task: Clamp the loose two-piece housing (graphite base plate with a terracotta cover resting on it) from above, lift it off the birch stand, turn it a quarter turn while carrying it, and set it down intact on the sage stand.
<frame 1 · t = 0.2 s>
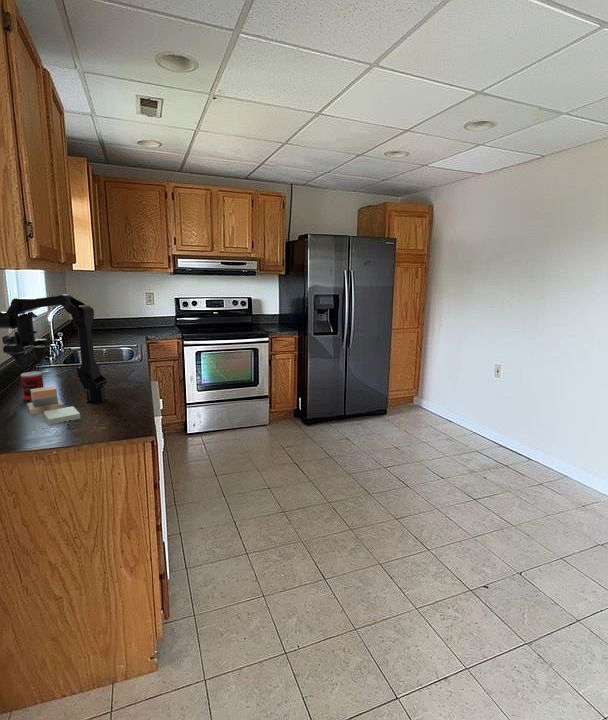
hand: (30, 366, 174), 14 cm above the counter, tool pointing down, fingers open, 9 cm apart
housing cover: (44, 396, 164), point 5 cm above the counter, touching housing base
housing base: (45, 403, 164), point 2 cm above the counter, touching housing cover, stand a
stand b: (62, 417, 155), on the counter
stand a: (45, 408, 165), on the counter
canned food: (34, 399, 178), on the counter
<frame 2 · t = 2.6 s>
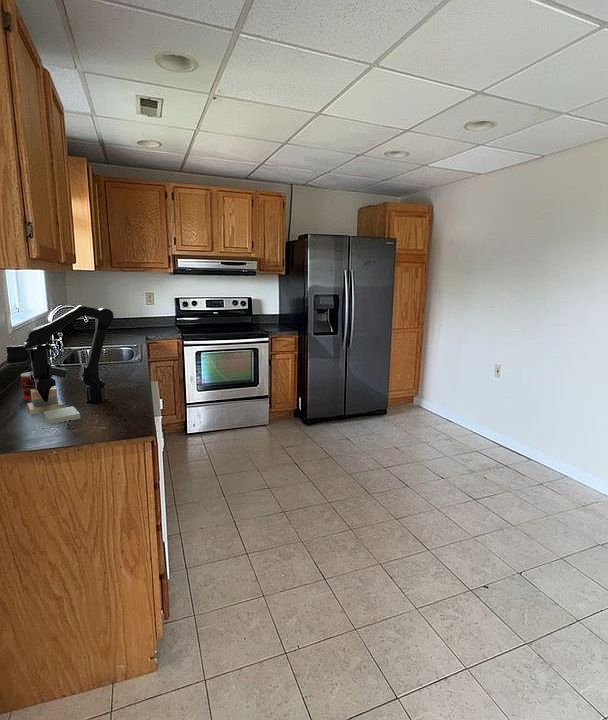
hand: (44, 400, 164), 4 cm above the counter, tool pointing down, fingers closed on housing base, housing cover, 5 cm apart
housing cover: (44, 396, 164), point 5 cm above the counter, touching gripper, housing base
housing base: (45, 403, 164), point 2 cm above the counter, touching gripper, housing cover, stand a
everything else where it was.
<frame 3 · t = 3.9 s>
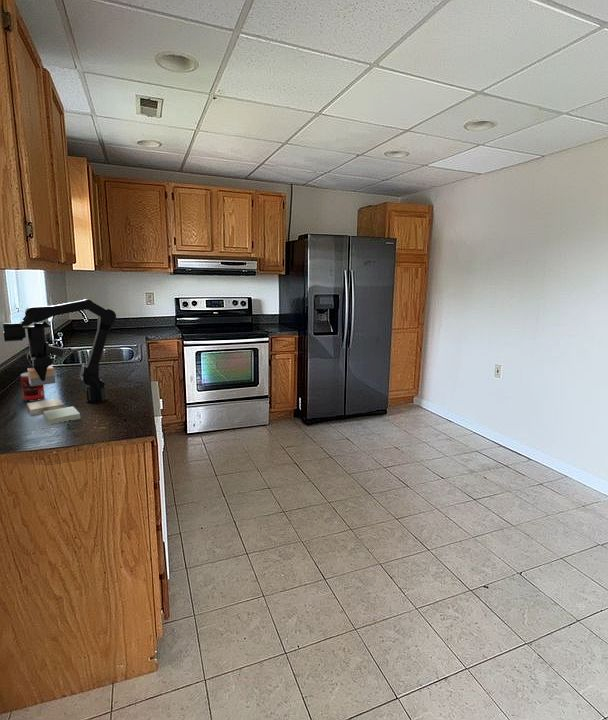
hand: (42, 379, 162), 12 cm above the counter, tool pointing down, fingers closed on housing base, housing cover, 5 cm apart
housing cover: (41, 375, 162), point 13 cm above the counter, touching gripper, housing base
housing base: (42, 383, 162), point 10 cm above the counter, touching gripper, housing cover
everything else where it was.
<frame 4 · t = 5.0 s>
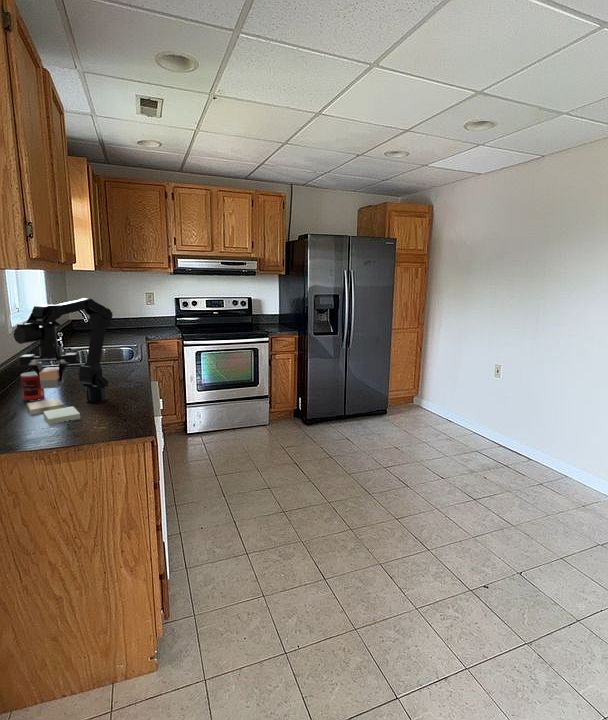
hand: (52, 381, 155), 13 cm above the counter, tool pointing down, fingers closed on housing base, housing cover, 5 cm apart
housing cover: (51, 377, 155), point 15 cm above the counter, touching gripper, housing base
housing base: (52, 385, 155), point 12 cm above the counter, touching gripper, housing cover
everything else where it was.
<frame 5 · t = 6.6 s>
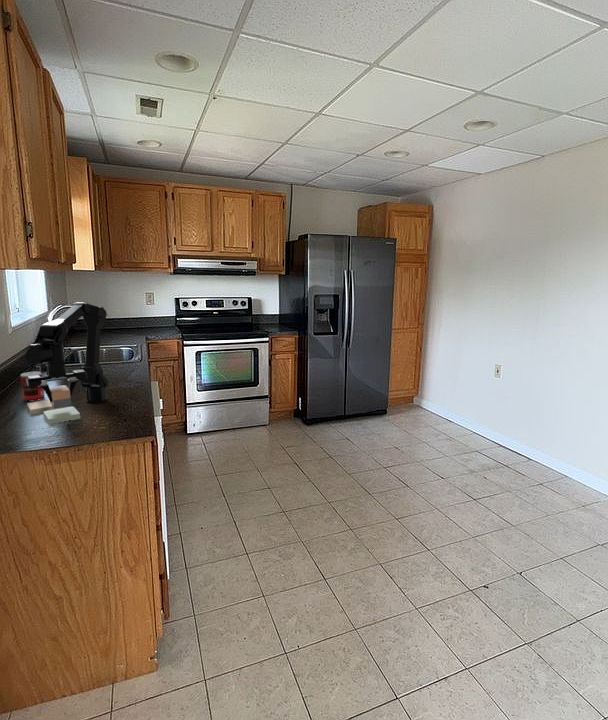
hand: (60, 400, 154), 7 cm above the counter, tool pointing down, fingers closed on housing base, housing cover, 5 cm apart
housing cover: (59, 396, 153), point 8 cm above the counter, touching gripper, housing base
housing base: (60, 404, 154), point 5 cm above the counter, touching gripper, housing cover
everything else where it was.
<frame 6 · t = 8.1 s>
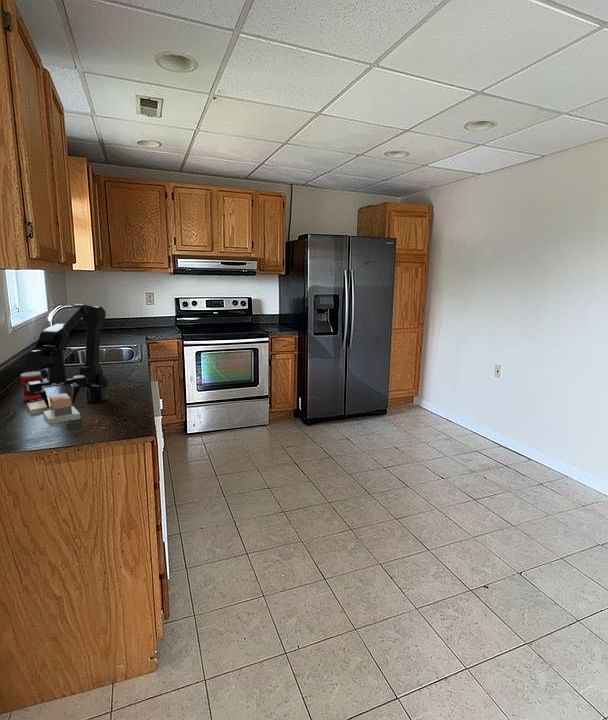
hand: (60, 406, 154), 4 cm above the counter, tool pointing down, fingers open, 8 cm apart
housing cover: (60, 404, 154), point 5 cm above the counter, touching housing base
housing base: (61, 412, 154), point 2 cm above the counter, touching housing cover, stand b
everything else where it was.
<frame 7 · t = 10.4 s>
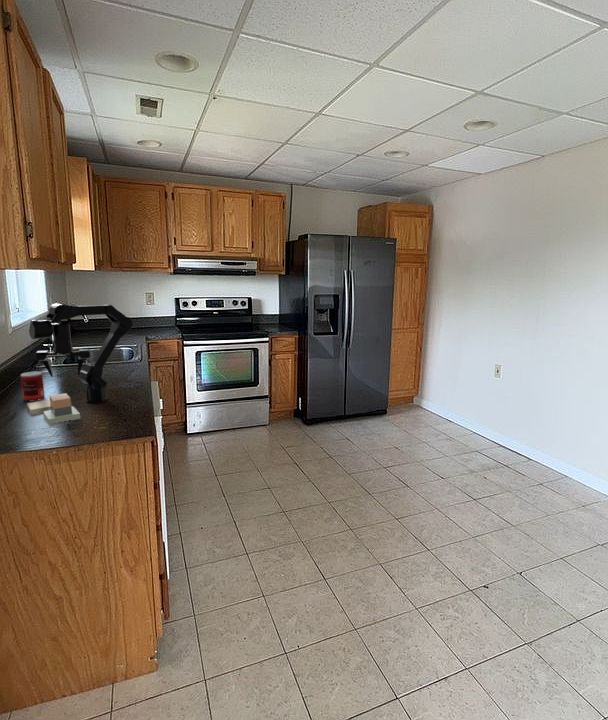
hand: (65, 375, 164), 13 cm above the counter, tool pointing down, fingers open, 9 cm apart
nothing on the counter moved.
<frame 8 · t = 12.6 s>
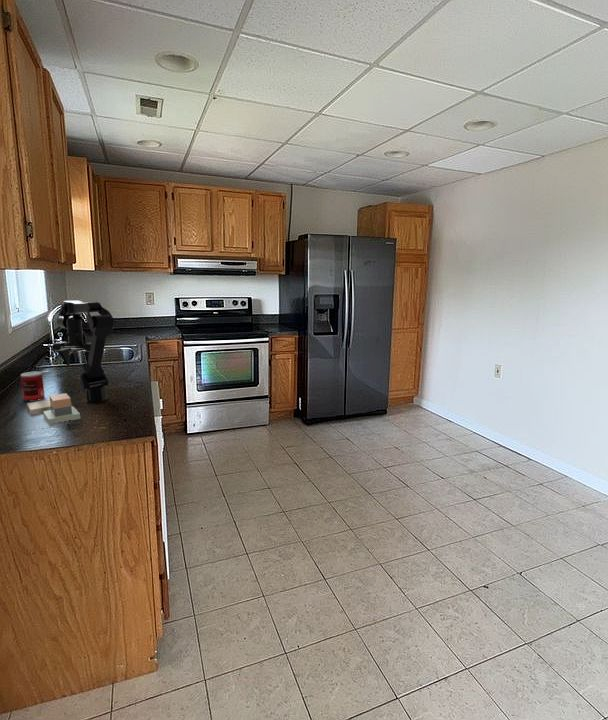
hand: (78, 365, 181), 13 cm above the counter, tool pointing down, fingers open, 9 cm apart
nothing on the counter moved.
at the end: housing base 0.0 cm off-centre on the stand b, point 2.0 cm above the stand b's base; housing cover 0.1 cm off-centre on the housing base, point 3.0 cm above the housing base's base; housing cover tilted 0° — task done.
